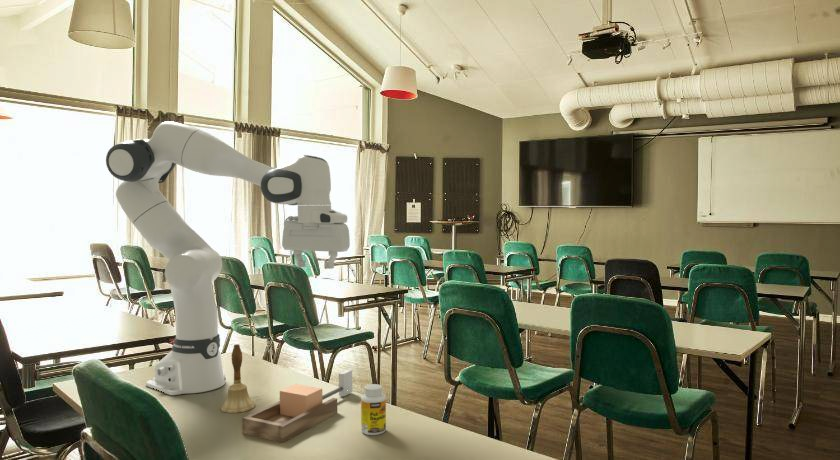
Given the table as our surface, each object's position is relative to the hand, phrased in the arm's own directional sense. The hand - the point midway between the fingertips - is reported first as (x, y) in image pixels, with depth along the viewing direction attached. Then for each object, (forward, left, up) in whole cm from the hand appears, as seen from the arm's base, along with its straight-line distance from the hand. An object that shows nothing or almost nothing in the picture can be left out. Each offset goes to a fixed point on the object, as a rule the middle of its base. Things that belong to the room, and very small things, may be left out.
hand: (315, 267), depth 156 cm
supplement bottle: (+28, -16, -34) cm, 47 cm away
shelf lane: (+8, -20, -34) cm, 40 cm away
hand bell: (-11, -18, -34) cm, 40 cm away
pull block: (+8, -8, -34) cm, 36 cm away
